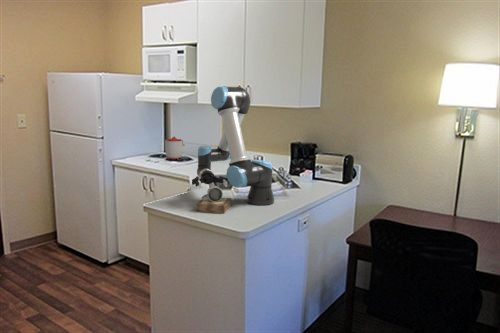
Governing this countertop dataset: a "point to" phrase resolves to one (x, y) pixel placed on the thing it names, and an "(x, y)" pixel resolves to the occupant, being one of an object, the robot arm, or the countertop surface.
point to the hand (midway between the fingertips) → (213, 184)
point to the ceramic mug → (213, 194)
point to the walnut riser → (214, 206)
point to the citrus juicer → (174, 148)
